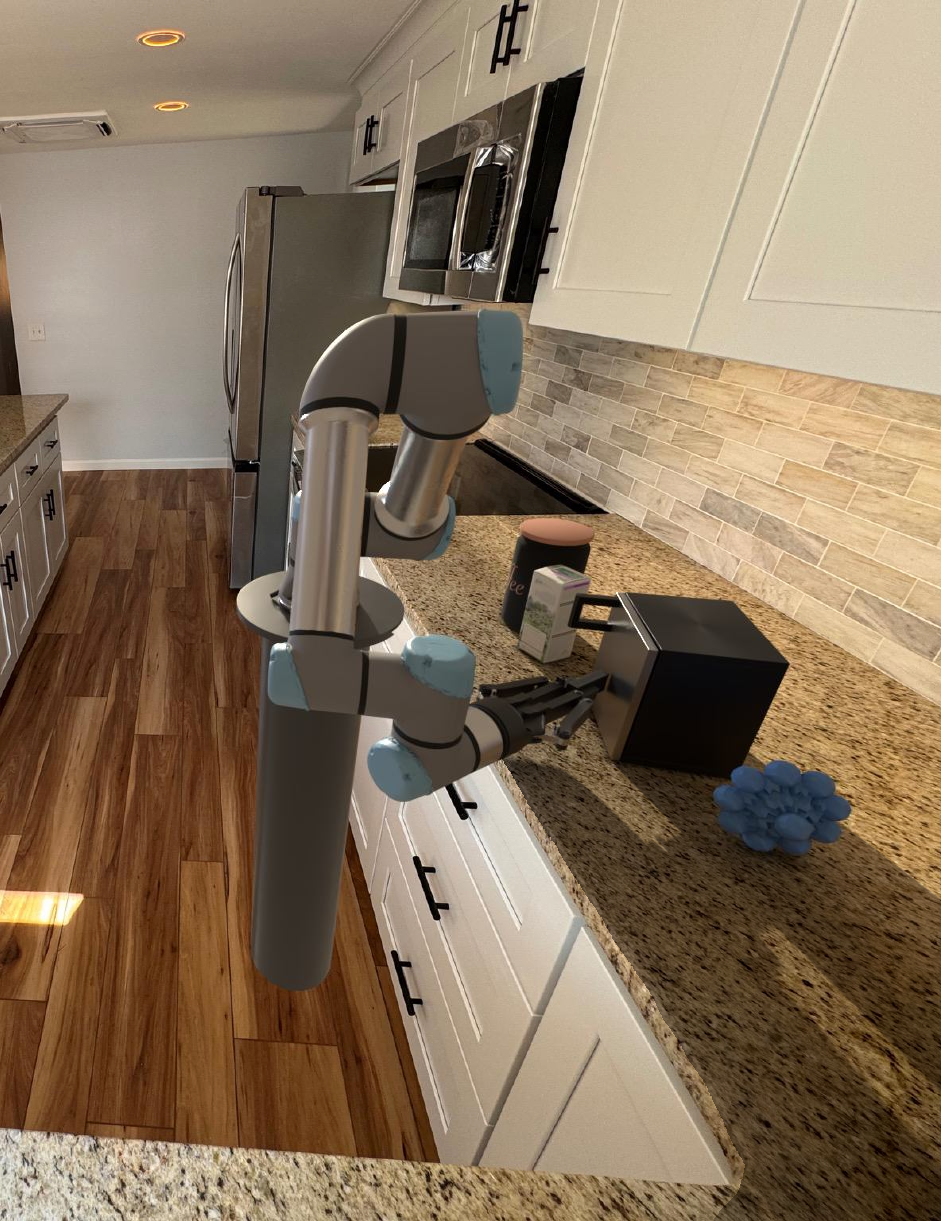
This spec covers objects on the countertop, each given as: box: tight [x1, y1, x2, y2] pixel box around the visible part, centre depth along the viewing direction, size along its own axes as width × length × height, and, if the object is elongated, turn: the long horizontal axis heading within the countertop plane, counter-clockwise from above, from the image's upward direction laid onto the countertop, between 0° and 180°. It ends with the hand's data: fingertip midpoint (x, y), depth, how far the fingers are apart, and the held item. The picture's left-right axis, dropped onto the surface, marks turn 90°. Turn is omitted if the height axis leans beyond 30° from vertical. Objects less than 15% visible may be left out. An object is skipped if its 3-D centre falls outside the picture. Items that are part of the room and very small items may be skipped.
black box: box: [620, 591, 791, 780], centre depth 87 cm, size 12×16×17 cm
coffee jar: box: [500, 517, 596, 634], centre depth 115 cm, size 11×11×18 cm
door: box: [567, 591, 658, 762], centre depth 90 cm, size 6×16×17 cm, turn 159°
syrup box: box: [516, 565, 592, 664], centre depth 107 cm, size 6×6×14 cm
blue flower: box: [712, 759, 852, 856], centre depth 70 cm, size 12×7×12 cm, turn 72°
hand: (601, 680), depth 92 cm, fingers closed
